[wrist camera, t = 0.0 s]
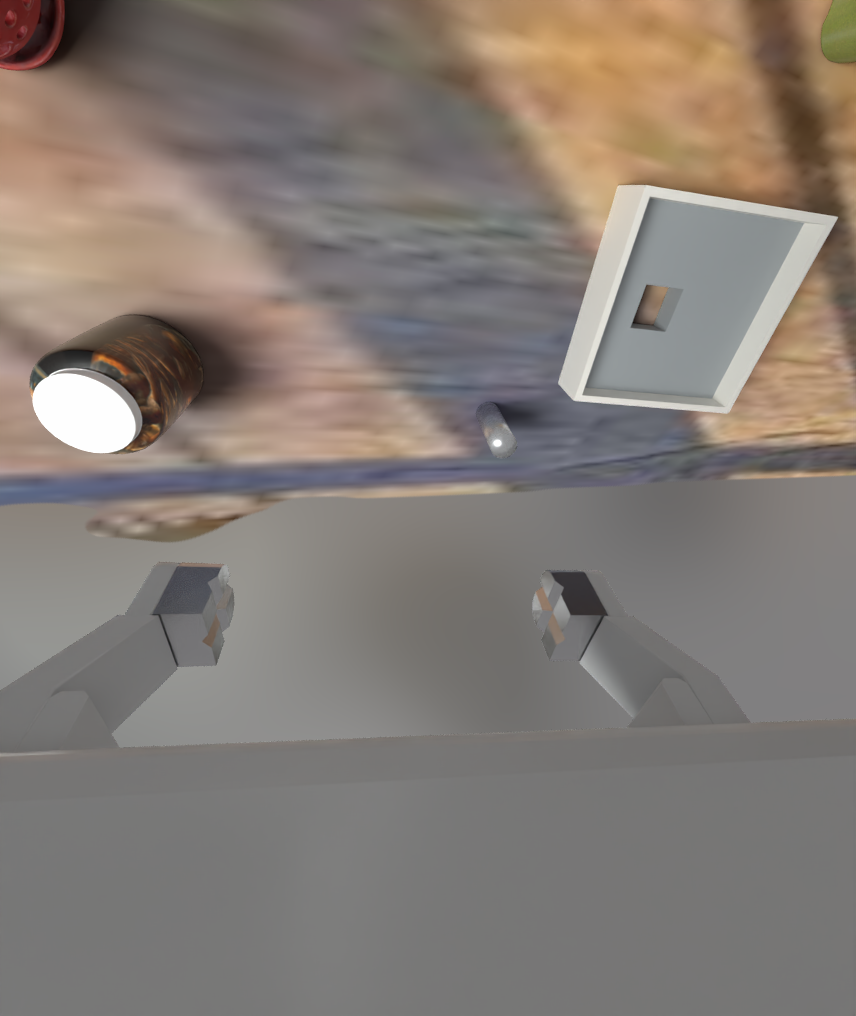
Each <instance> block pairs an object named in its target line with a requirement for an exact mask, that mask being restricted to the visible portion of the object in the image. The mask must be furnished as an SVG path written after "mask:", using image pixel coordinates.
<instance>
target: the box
mask: <svg viewBox="0 0 856 1016" xmlns="http://www.w3.org/2000/svg"><path fill="white" fill-rule="evenodd" d="M837 218H838V217H835V216H829V215H823V214H817V213H811V212H805V211H799V210H793V209H787V208H781V207H775V206H769V205H763V204H757V203H751V202H745V201H739V200H733V199H727V198H721V197H715V196H709V195H703V194H697V193H691V192H685V191H679V190H673V189H667V188H661V187H655V186H649V185H618V187H617V190H616V194H615V197H614V200H613V204H612V207H611V210H610V214H609V217H608V220H607V223H606V227H605V230H604V233H603V237H602V240H601V243H600V247H599V250H598V253H597V256H596V260H595V263H594V266H593V270H592V273H591V276H590V280H589V283H588V286H587V289H586V293H585V296H584V299H583V303H582V306H581V309H580V313H579V316H578V319H577V322H576V326H575V329H574V332H573V336H572V339H571V342H570V346H569V349H568V352H567V356H566V359H565V362H564V365H563V369H562V372H561V375H560V379H559V382H558V384H559V385H560V386H561V387H562V388H563V390H564V391H565V392H566V393H567V394H568V395H569V396H570V397H571V398H572V399H573V400H574V401H582V402H594V403H607V404H619V405H631V406H643V407H655V408H667V409H680V410H692V411H704V412H716V413H729V411H730V409H731V408H732V406H733V404H734V402H735V400H736V399H737V397H738V395H739V393H740V392H741V390H742V388H743V386H744V384H745V383H746V381H747V379H748V377H749V375H750V374H751V372H752V370H753V368H754V367H755V365H756V363H757V361H758V359H759V358H760V356H761V354H762V352H763V350H764V349H765V347H766V345H767V343H768V342H769V340H770V338H771V336H772V334H773V333H774V331H775V329H776V327H777V325H778V324H779V322H780V320H781V318H782V317H783V315H784V313H785V311H786V309H787V308H788V306H789V304H790V302H791V300H792V299H793V297H794V295H795V293H796V292H797V290H798V288H799V286H800V284H801V283H802V281H803V279H804V277H805V275H806V274H807V272H808V270H809V268H810V267H811V265H812V263H813V261H814V259H815V258H816V256H817V254H818V252H819V250H820V249H821V247H822V245H823V243H824V242H825V240H826V238H827V236H828V234H829V233H830V231H831V229H832V227H833V225H834V224H835V222H836V220H837ZM646 284H647V285H654V286H662V287H669V288H668V291H667V293H666V296H665V298H664V300H663V303H662V305H661V308H660V310H659V313H658V315H657V318H656V320H655V323H654V325H653V326H652V325H643V324H634V323H632V322H633V319H634V316H635V314H636V311H637V308H638V306H639V303H640V300H641V298H642V295H643V292H644V290H645V287H646Z"/></svg>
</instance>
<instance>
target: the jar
mask: <svg viewBox="0 0 856 1016" xmlns="http://www.w3.org/2000/svg"><path fill="white" fill-rule="evenodd" d="M202 384H203V367H202V363H201V360H200V358H199V356H198V354H197V352H196V350H195V349H194V347H193V346H192V345H191V343H190V342H189V341H188V340H187V339H186V338H185V337H184V336H183V335H182V334H181V333H180V332H178V331H177V330H176V329H174V328H173V327H171V326H170V325H168V324H166V323H164V322H162V321H160V320H157V319H154V318H151V317H147V316H142V315H125V316H120V317H116V318H114V319H111V320H109V321H107V322H105V323H103V324H100V325H98V326H96V327H94V328H92V329H90V330H88V331H86V332H84V333H82V334H80V335H78V336H77V337H75V338H73V339H71V340H69V341H67V342H65V343H63V344H62V345H60V346H58V347H56V348H54V349H53V350H51V351H50V352H48V353H47V354H45V355H44V356H43V357H42V358H41V359H40V360H39V361H38V362H37V363H36V364H35V366H34V368H33V370H32V373H31V376H30V393H31V397H32V399H33V406H34V409H35V412H36V414H37V416H38V418H39V419H40V421H41V422H42V424H43V425H44V426H45V427H46V428H47V429H48V430H49V431H50V432H51V433H52V434H53V435H54V436H56V437H57V438H59V439H60V440H61V441H63V442H65V443H67V444H69V445H71V446H73V447H75V448H78V449H81V450H84V451H89V452H94V453H109V454H126V453H132V452H137V451H140V450H142V449H145V448H147V447H148V446H150V445H151V444H153V443H154V442H155V441H157V440H158V439H159V438H160V437H161V436H162V435H163V434H164V433H165V432H166V431H167V430H168V429H169V428H170V426H171V425H172V424H173V423H174V422H175V421H176V420H177V419H178V417H179V416H180V415H181V414H182V413H183V412H184V411H185V409H186V408H187V407H188V406H189V405H190V403H191V402H192V401H193V400H194V399H195V397H196V396H197V395H198V393H199V391H200V389H201V387H202Z"/></svg>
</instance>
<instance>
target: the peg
mask: <svg viewBox="0 0 856 1016" xmlns="http://www.w3.org/2000/svg"><path fill="white" fill-rule="evenodd" d="M476 417H477V419H478V422H479V424H480V426H481V428H482V431H483V433H484V435H485V437H486V440H487V442H488V444H489V446H490V449H491V451H492V453H493V454H494V455H495V456H496V457H498V458H506V457H509V456H511V455H512V454H513V453H514V452H515V450H516V448H517V441H516V439H515V438H514V436H513V434H512V432H511V430H510V429H509V427H508V425H507V423H506V421H505V420H504V418H503V416H502V414H501V413H500V411H499V409H498V407H497V406H496V405H495V404H494V403H492V402H485V403H483V404H481V405H480V406H479V407H478V409H477V411H476Z"/></svg>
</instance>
